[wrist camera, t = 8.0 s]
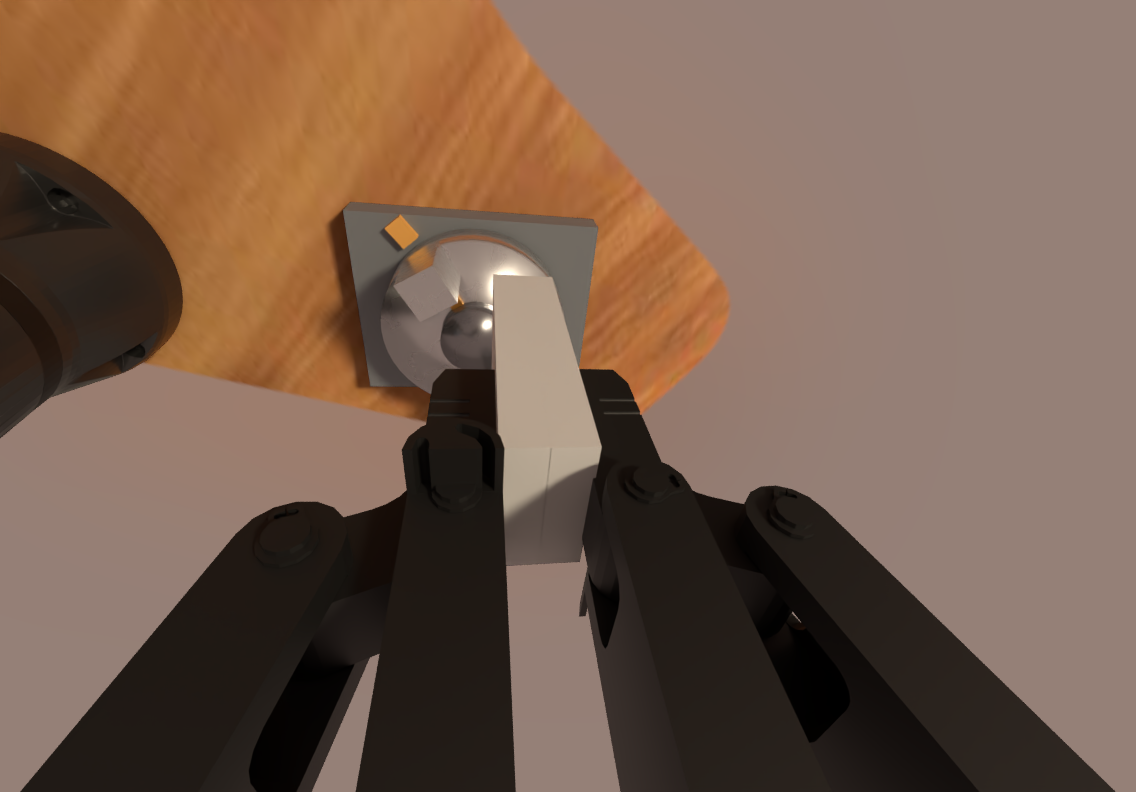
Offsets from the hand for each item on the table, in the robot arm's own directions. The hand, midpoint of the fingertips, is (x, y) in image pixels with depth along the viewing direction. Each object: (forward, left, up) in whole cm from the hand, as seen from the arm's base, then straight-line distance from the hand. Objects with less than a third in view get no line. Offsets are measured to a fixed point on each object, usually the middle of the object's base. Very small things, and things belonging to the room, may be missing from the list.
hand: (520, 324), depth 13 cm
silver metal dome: (-2, -10, -20) cm, 22 cm away
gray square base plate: (-2, -10, -22) cm, 24 cm away
